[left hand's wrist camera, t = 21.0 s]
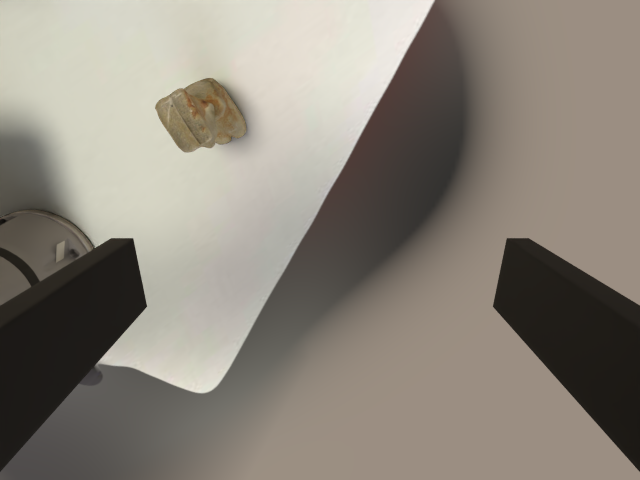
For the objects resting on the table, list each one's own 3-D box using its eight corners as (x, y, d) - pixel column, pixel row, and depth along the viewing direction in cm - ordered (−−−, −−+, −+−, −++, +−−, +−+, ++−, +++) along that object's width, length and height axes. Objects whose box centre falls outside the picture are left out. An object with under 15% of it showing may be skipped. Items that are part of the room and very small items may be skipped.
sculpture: (215, 148, 45) (168, 165, 31) (188, 93, 43) (123, 84, 29) (255, 131, 44) (225, 139, 30) (229, 74, 42) (184, 54, 28)
